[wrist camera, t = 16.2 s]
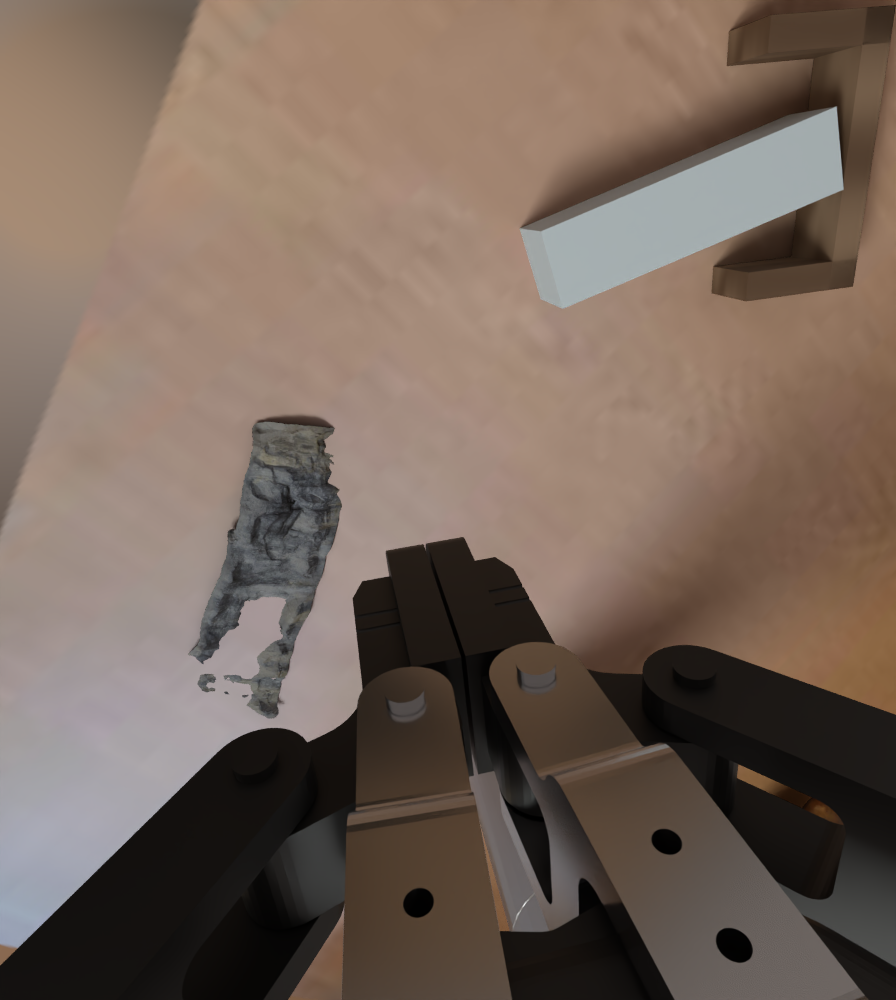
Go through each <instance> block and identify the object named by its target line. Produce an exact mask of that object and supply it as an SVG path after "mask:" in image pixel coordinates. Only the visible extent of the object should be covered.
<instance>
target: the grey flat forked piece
mask: <svg viewBox="0 0 896 1000" xmlns="http://www.w3.org/2000/svg"><path fill="white" fill-rule="evenodd" d="M334 429H335V428H332V427H331V428H326V427H319V426H318V427H315V426H310V425H308V426H303V425H298V424H295V425H294V424H283V423H275V422H263V423H261V422H260V423H257V424H255V425H254V426H253V428H252V433H253V436H252V437H253V450H252V452H251V458H250V463H249V468H248V471H247V472H246V474H245V480H244V485H243V488H242V490H243V491H242V497H241V502H240V504H241V506H240V517H239V521H238V523H237V527H236V530H234V529H231V530H229V531H228V546H227V556H226V560H225V562H224V564H223V567H222V571H221V576H220V578H219V579H218V582H217V584H216V586H215V588H214V591H213V592H212V594H211V595H212V596H211V598H210V600H209V601H208V605H207V607H206V609H205V613H204V617H203V619H202V623H201V631H200V637H201V638H200V640H199V643H198V646H196V647H195V648H194V650H192V651H191V652H190V653H189V654H188V655H192V656H195V657H196V658H197V660H199V661H200V662H201V663H202V664H203V661H204V660H207V659H208V658H211V657H212V655H213V653H214V651H215V650H217V649H219V641H220V640H221V638H222V637H223V636H224V635H225V634H226V633H227V631H228V630H231V629H235V628H236V627H237V626H239V623H237V622H238V620H239V617H240V615H241V612H240V610H241V609H242V607H243V606H244V602H245V601H247V600H248V601H250V600H257V599H259V598H260V597H281V598H284V599H287V600H285V601H286V604H285V606H284V608H283V610H282V613H281V614H282V616H281V618H280V621H279V624H280V628H281V630H280V631H281V634H283V638H282V639H281V640H277V641H275V642H273V643H272V644H270V646H269V647H267V648H266V649H265V651H263V652H262V653H261V654H260V655H259V656H258V657H257V660H258V663H259V665H260V668H259V669H260V671H259V674H257V675H256V676H254V677H253V678H252V679H242V678H241V676H238V675H226V676H224V678H225V679H227V678H228V677H229V678H230V681H232V682H233V681H234V682H237V683H243V684H249V685H251V690H252V691H253V693H254V694H252V699H251V700H250V701H249V703H248V704H247V706H249V707H250V708H252V709H253V710H255V711H256V712H257V713H259V714H261V715H263V716H266V717H267V718H274V717H276V716H277V715H278V707H277V702H278V700H277V698H278V694H279V691H280V687H281V683H280V681H282V679H284V678H285V676H286V675H287V671H288V665H289V659H290V658H291V657H290V656H291V655H292V652H293V647H294V646H293V645H294V641H295V640H296V639H295V638H296V636H297V634H298V632H299V630H300V628H301V626H302V624H303V622H304V621H305V619H306V618H307V617H308V614H309V612H310V610H311V604H312V599H313V598H314V592H315V589H316V587H317V584H318V582H319V581H320V578H321V576H322V573H323V569H324V565H325V557H326V555H327V553H328V552H329V551H330V549H331V546H332V544H333V539H334V536H335V532H336V528H337V523H338V520H339V519H338V517H339V512H340V509H341V507H342V504H341V501H340V499H339V497H338V496H337V492H338V491H339V489H337V488H336V487H335V486H333V485H331V484H328V479H329V477H330V475H331V473H332V472H331V470H330V469H329V466H330V464H329V463H332V464H334V463H333V462H332V460H330V459H329V458H330V457H333V455H330V454H328V453H324V449H325V448H326V445H325V443H324V441H323V440H324V439H326V438H328V437H329V436H330V435H331V434H333V432H334ZM271 678H276V679H274V680H273V679H271ZM215 680H216V678H215V677H214V676H213V674H204V675H200V680H199V681H198V685H199V687H200V688H201V689H202V691H205V692H209V691H215V689H214V688H210V689H208V687H206V684H207V683H208V682H212V683H214V682H215ZM234 682H233V683H234ZM224 693H225V694H228V692H224ZM247 696H248V695H244V696H243V695H242V697H244V698H245V697H247Z"/></svg>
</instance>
